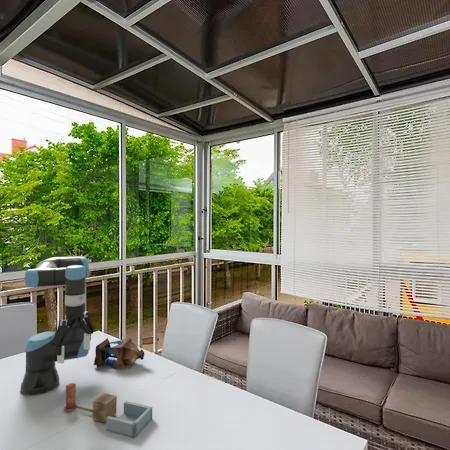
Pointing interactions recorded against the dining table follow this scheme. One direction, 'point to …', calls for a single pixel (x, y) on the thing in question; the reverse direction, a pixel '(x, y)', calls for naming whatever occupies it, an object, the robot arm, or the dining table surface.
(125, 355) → the lantern
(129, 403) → the slate open-sided box
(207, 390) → the dining table surface
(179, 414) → the dining table surface
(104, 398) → the block and peg linkage
